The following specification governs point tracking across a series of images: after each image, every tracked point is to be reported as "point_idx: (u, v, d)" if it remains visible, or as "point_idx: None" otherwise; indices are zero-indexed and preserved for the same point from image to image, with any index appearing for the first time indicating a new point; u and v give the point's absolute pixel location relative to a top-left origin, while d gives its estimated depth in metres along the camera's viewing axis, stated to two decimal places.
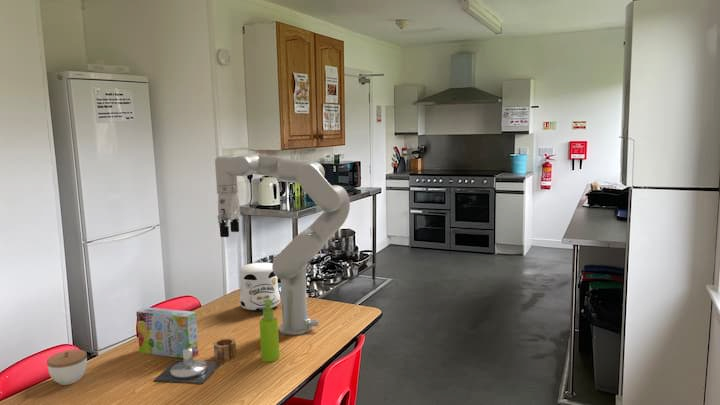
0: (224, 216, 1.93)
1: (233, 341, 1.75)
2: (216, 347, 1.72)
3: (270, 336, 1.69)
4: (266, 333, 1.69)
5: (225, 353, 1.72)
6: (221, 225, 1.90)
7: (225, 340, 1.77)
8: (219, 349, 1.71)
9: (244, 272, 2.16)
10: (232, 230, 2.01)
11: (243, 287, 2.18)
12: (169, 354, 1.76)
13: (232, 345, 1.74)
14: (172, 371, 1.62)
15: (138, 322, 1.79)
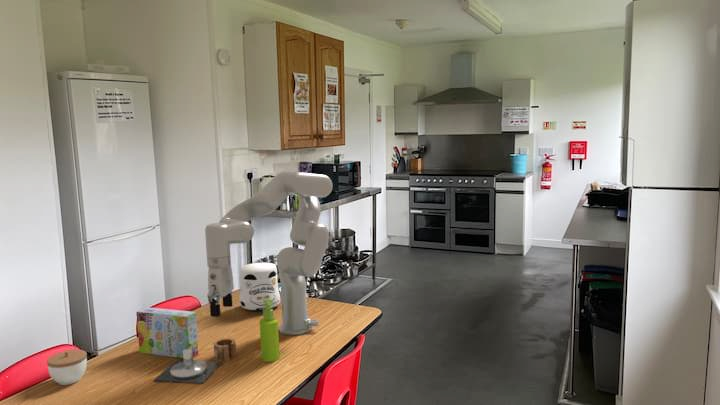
0: (215, 292, 1.69)
1: (233, 341, 1.75)
2: (216, 347, 1.72)
3: (270, 336, 1.69)
4: (266, 333, 1.69)
5: (225, 353, 1.72)
6: (211, 304, 1.66)
7: (225, 340, 1.77)
8: (219, 349, 1.71)
9: (244, 272, 2.16)
10: (224, 305, 1.78)
11: (243, 287, 2.18)
12: (169, 354, 1.76)
13: (232, 345, 1.74)
14: (172, 371, 1.62)
15: (138, 322, 1.79)
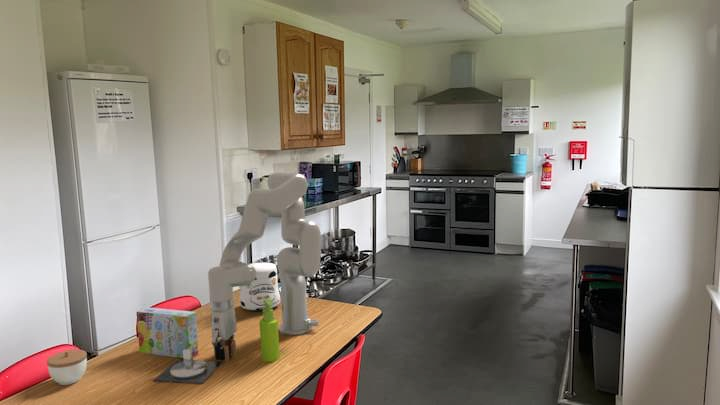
0: (219, 336, 1.71)
1: (233, 341, 1.75)
2: None
3: (270, 336, 1.69)
4: (266, 333, 1.69)
5: (225, 353, 1.72)
6: (216, 348, 1.69)
7: None
8: None
9: None
10: None
11: (243, 287, 2.18)
12: (169, 354, 1.76)
13: (232, 345, 1.74)
14: (172, 371, 1.62)
15: (138, 322, 1.79)
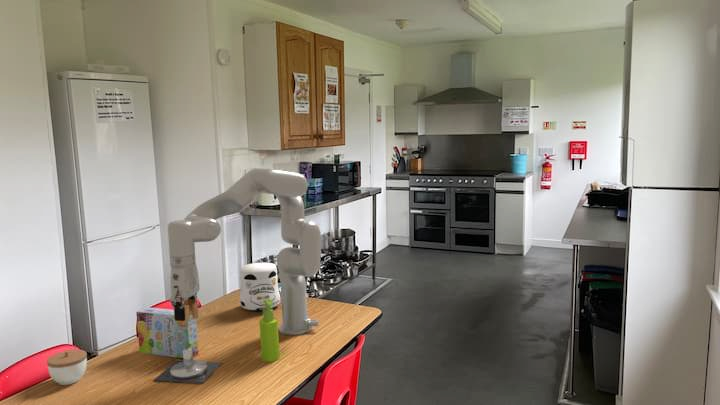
0: (179, 294, 1.59)
1: (195, 301, 1.63)
2: None
3: (270, 336, 1.69)
4: (266, 333, 1.69)
5: (186, 314, 1.59)
6: (175, 307, 1.57)
7: (187, 301, 1.65)
8: None
9: (244, 272, 2.16)
10: None
11: (243, 287, 2.18)
12: (169, 354, 1.76)
13: (193, 305, 1.61)
14: (172, 371, 1.62)
15: (138, 322, 1.79)
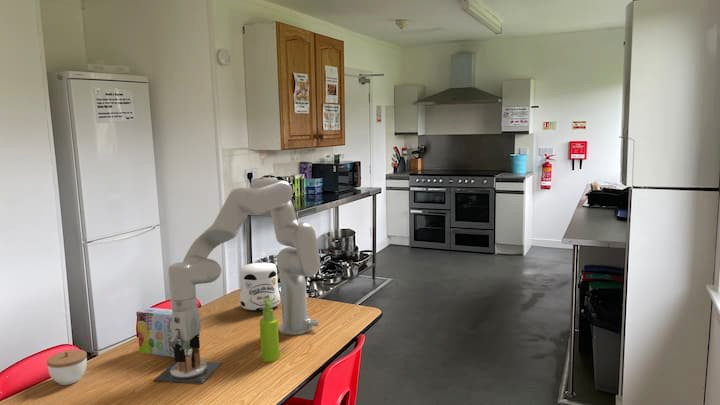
0: (179, 336, 1.60)
1: (197, 350, 1.65)
2: None
3: (270, 336, 1.69)
4: (266, 333, 1.69)
5: (188, 364, 1.61)
6: (175, 349, 1.57)
7: None
8: None
9: (244, 272, 2.16)
10: None
11: (243, 287, 2.18)
12: (169, 354, 1.76)
13: (195, 355, 1.63)
14: (172, 371, 1.62)
15: (138, 322, 1.79)
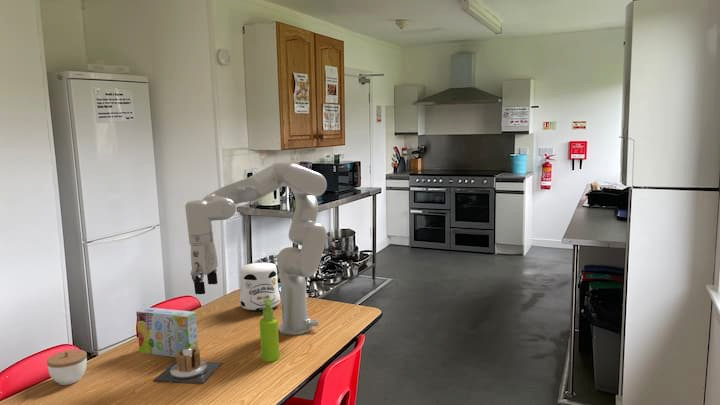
0: (199, 270, 1.67)
1: (197, 350, 1.65)
2: (178, 357, 1.61)
3: (270, 336, 1.69)
4: (266, 333, 1.69)
5: (188, 364, 1.61)
6: (195, 281, 1.65)
7: None
8: (182, 359, 1.61)
9: (244, 272, 2.16)
10: (209, 282, 1.76)
11: (243, 287, 2.18)
12: (169, 354, 1.76)
13: (195, 355, 1.63)
14: (172, 371, 1.62)
15: (138, 322, 1.79)
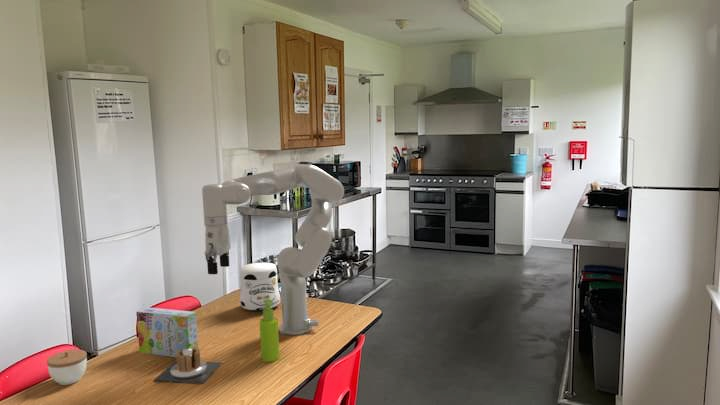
0: (212, 251, 1.74)
1: (197, 350, 1.65)
2: (178, 357, 1.61)
3: (270, 336, 1.69)
4: (266, 333, 1.69)
5: (188, 364, 1.61)
6: (209, 261, 1.71)
7: None
8: (182, 359, 1.61)
9: (244, 272, 2.16)
10: (222, 265, 1.82)
11: (243, 287, 2.18)
12: (169, 354, 1.76)
13: (195, 355, 1.63)
14: (172, 371, 1.62)
15: (138, 322, 1.79)
